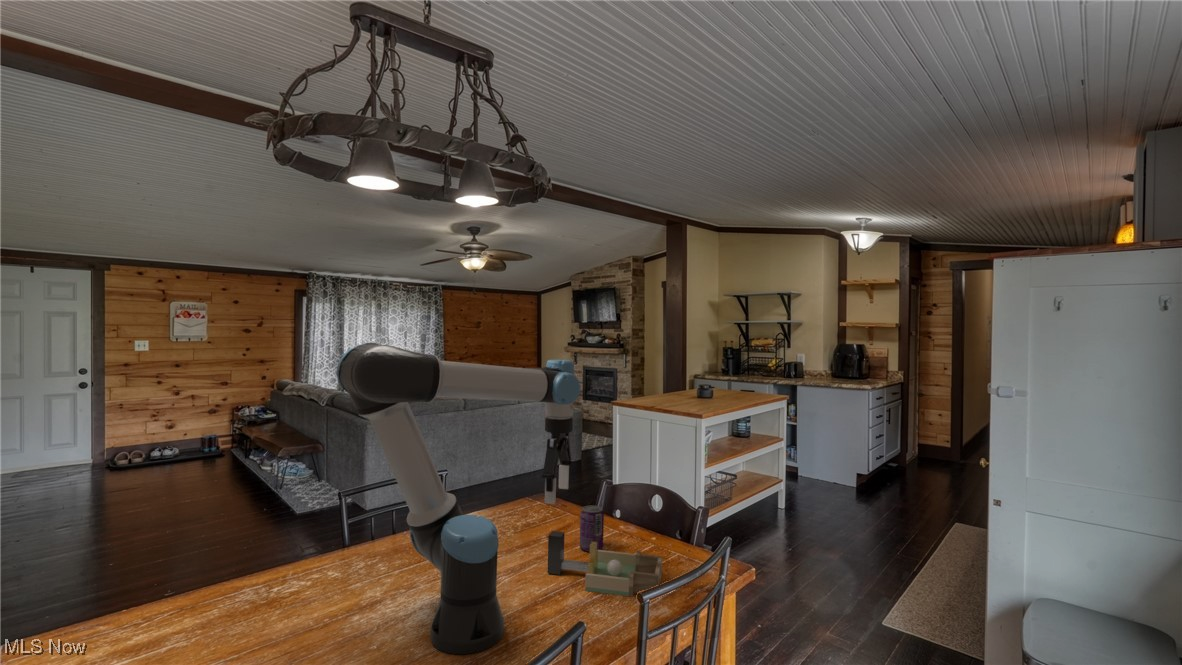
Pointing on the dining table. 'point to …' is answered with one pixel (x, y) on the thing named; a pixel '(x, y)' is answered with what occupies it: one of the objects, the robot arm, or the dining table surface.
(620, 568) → the ball
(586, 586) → the pitch
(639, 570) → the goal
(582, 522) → the beverage can
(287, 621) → the dining table surface
